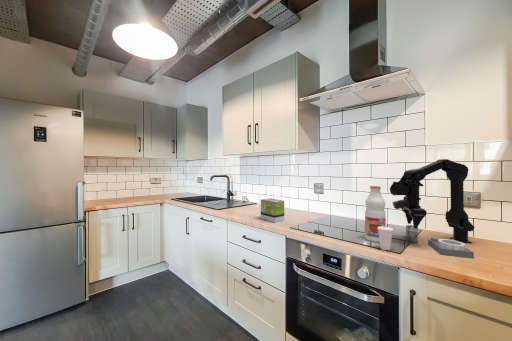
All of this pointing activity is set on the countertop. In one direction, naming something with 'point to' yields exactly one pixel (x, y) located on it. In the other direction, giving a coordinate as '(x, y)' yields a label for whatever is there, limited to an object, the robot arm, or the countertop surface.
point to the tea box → (272, 210)
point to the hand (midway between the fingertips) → (412, 225)
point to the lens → (411, 234)
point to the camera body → (450, 247)
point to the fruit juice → (374, 214)
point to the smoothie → (385, 237)
